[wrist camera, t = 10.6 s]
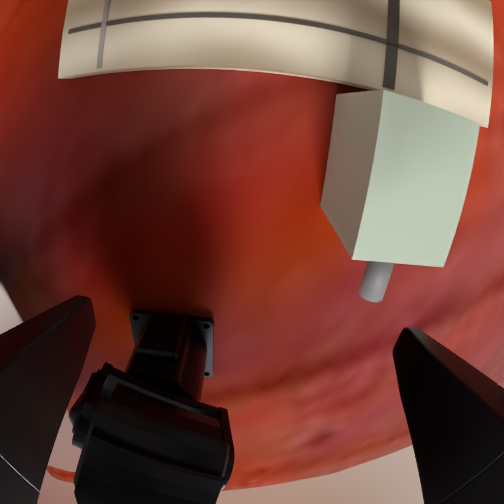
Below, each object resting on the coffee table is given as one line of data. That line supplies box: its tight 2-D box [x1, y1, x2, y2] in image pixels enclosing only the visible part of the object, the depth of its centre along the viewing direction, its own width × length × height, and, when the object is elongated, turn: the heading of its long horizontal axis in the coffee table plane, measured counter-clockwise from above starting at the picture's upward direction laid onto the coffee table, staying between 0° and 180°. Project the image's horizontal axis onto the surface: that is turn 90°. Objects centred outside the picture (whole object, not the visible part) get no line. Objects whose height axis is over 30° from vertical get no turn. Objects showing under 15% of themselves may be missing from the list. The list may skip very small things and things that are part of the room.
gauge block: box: [320, 90, 480, 302], centre depth 15 cm, size 10×5×7 cm, turn 175°
